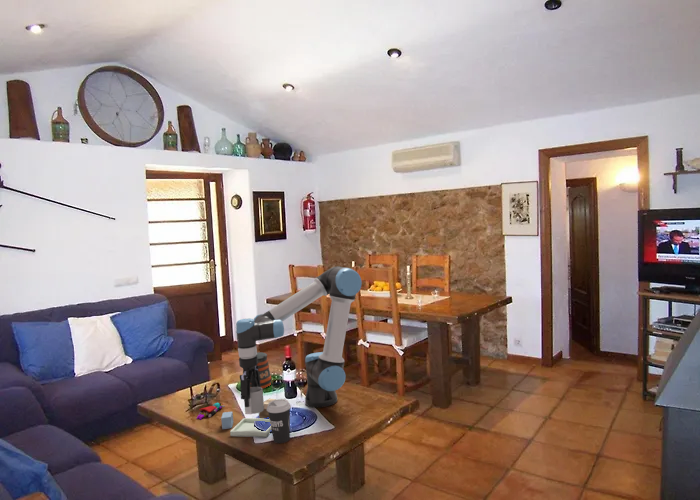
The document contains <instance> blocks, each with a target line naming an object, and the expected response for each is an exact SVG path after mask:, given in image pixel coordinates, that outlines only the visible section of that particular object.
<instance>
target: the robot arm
mask: <svg viewBox="0 0 700 500" xmlns="http://www.w3.org/2000/svg"><path fill="white" fill-rule="evenodd" d="M362 281H363V280H362V278H361V275H360V274H359V273H358V272H357V271H356V270H355V269H353V268H350V267H343V266H339V265H338V266H333V267H331V268H328V269H327V270H326V271H324V272H322V273H321V274H320V275H318V276H316V277H315V278H314V281H313V282H311V283H310V284H308V285H306V286H304V287H303V288H302V289H300V290H299V291H297V292H296V293H294V294H293V295H291V296H289V297H288V298H286V299H284V300H283V301H281V302H280V303H279V304H277V305H276V306H274V307H272V308H271V309H269V310H268V311H266V312H264V313H261V314H257V315H256V316H254V318H242V319H238V320H237V321H236V325H235V326H236V327H235V328H236V331H235V333H236V341H237V352H238V357H239V359H238V362H239V367H240V368H242V374H240V375H239V381H240V382H239V383H240V399H241V400H243V403H244V412H245V415H253V414H252V406H251V398H250V385H252V387H261V383H260V377H259V366H258V365H257V364H258V359H257V356H256V355H257V352H258V350H257V341H258V342H259V341H264V340H265V341H266V340H271V339H277V338H281V337H283V336H284V334H285V326H284V321H285V320H287V319H289V318H290V317H292V316H293V315H295V314H296V313H298V312H299V311H301V310H302V309H304V308H306V307H307V306H309V305H310V304H311V303H314V302H315V301H317V300H318V299H319V298H321V297H322V296H325V297H326V296H329V298H330V299H331V303H330V309H329V316H328V322H327V327H326V332H325V338H324V339H325V340H324V344H323V351H321V352H318V351H317V352H313V353H310V354H307V355H306V356H305V363H304V364H305V370H306V371H305V373H306V382H307V389H306V393H305V397H304V401H305V402H304V403H305V405H306V406H307V407H310V408H325V407H329V406H331V405H334V404H336V403H337V401H338V393H337V392H336V391H337V390H339V389H341V388H342V387H343V385H344V383H345V381H346V377H347V376H346V372H345V370H344V366H345V359H344V358H343V350H344V345H345V339H346V333H347V328H348V321H349V316H350V310H351V304H352V303H353V302H355V300H356V296H357V295H358V293H359V292H360V291H361V289H362V283H363V282H362ZM247 379H250V380H247Z"/></svg>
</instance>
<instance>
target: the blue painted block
mask: <svg viewBox="0 0 700 500" xmlns="http://www.w3.org/2000/svg"><path fill="white" fill-rule="evenodd" d="M220 420H221V428H222V429H221V430H227V429H229V430H230V429H233V425H234V415H233V411H224V412H222V415H221V418H220Z"/></svg>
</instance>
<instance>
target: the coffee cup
mask: <svg viewBox="0 0 700 500" xmlns="http://www.w3.org/2000/svg"><path fill="white" fill-rule="evenodd" d="M291 408H292V405H291V403H290V402H289V400H288V399H285V398H279V399H276V400H273V401H271V402H269V404H268V406H267V411H268V414H269V419H270V424H271V430H272V432H271V435H272V440H273V442H274V443H276V444H284V443H287V442H289V441H290V440H291V425H290V424H291V422H290V421H291V417H290V416H291V414H290V413H291Z"/></svg>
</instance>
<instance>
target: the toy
mask: <svg viewBox="0 0 700 500" xmlns="http://www.w3.org/2000/svg"><path fill="white" fill-rule="evenodd" d="M225 407H226V405H224V404H223V403H221V402H216V403H213V404H212V406H211V405H209V406H206V407H202V408H199V409H198V410H199V412H198V415H197V416H196V420H198V419H199V420H200V421H201V420H202V419H203V418H205V417H208V418H211V417H212V416H213V415H215V414H216V412H217V413H218V411H219V410H221V409H222V408H225Z"/></svg>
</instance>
